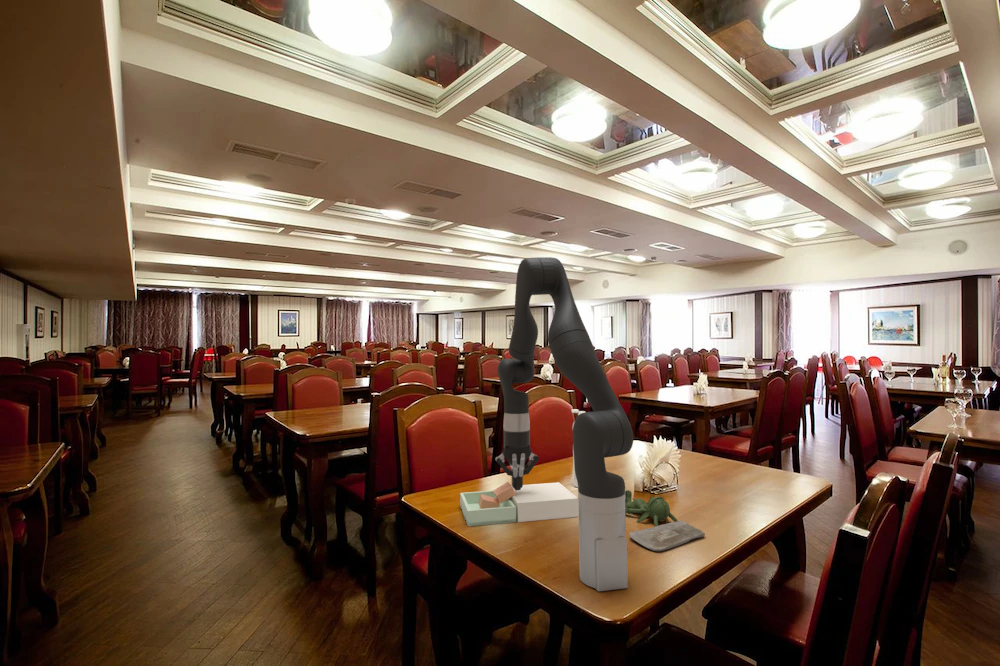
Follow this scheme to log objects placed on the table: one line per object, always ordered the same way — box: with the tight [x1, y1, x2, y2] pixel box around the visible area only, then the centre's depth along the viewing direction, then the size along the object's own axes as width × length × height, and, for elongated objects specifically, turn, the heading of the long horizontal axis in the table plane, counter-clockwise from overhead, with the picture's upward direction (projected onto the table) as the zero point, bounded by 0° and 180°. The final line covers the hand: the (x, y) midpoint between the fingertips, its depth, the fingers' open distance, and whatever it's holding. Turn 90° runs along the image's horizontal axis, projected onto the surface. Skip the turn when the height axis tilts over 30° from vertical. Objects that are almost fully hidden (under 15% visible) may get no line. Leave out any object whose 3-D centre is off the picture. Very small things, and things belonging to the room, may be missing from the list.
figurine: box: [625, 489, 679, 527], centre depth 128 cm, size 11×8×19 cm
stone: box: [628, 520, 706, 552], centre depth 113 cm, size 18×3×10 cm
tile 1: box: [478, 494, 500, 509], centre depth 132 cm, size 5×5×2 cm
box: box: [459, 489, 517, 527], centre depth 131 cm, size 16×13×4 cm
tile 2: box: [492, 481, 516, 503], centre depth 133 cm, size 5×5×2 cm
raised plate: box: [510, 481, 579, 523], centre depth 134 cm, size 16×17×5 cm
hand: (517, 489), depth 133 cm, fingers closed
